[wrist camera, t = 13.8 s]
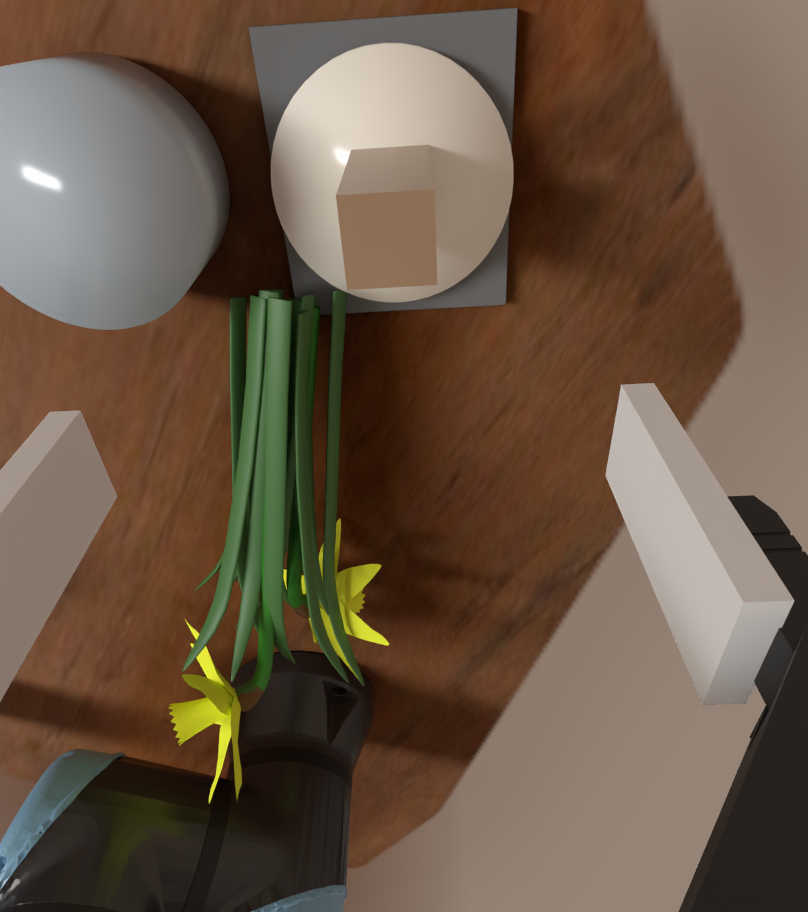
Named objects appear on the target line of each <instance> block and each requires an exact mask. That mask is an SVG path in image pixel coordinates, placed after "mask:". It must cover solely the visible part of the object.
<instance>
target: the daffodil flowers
mask: <svg viewBox="0 0 808 912" xmlns="http://www.w3.org/2000/svg"><path fill="white" fill-rule="evenodd" d="M283 291H284V290H282V289H263V290H259V296H257V295H250V313H249V332H248V351H247V371H246V304H247V297H231V298H230V397H231V439H232V489H233V498H232V505H231V512H230V518H229V525H228V532H227V538H226V544H225V549H224V552H223V555H222V556H221V558H220V560H219V562H218V564H217V565H216V567H215V568H214V569H213V570H212V571H211V573H210V574H209V575H208V576H207V577H206V578H205V579H204V580H203V581H202V582H201V584H200V585H199V586H198V587H197V588H196V589H195V591H196V590H197V589H198V588H200V587H201V586H202V585H204V584H205V583H206V582H207V581H209V580H210V579H211V578H212V577H213V576H214V575H215V574H216V573H217V572H218V571H219V570H220V574H219V579H218V584H217V589H216V592H215V596H214V600H213V603H212V605H211V608H210V611H209V613H208V616H207V619H206V622H205V624H204V626H203V628H202V630H201V632H200V634H199V633H198V632H197V631H196V630H195V629H193V628H192V627H191V626H190V625H189V624H188V622H187V621H186V622H187V624H188V626H189V628H190V630H191V632H192V633H193V635H194V637H195V638H196V642H195V644H191V647H192V650H191V652H190V654H189V656H188V658H187V660H186V662H185V665H184V667H183V670H182V671H184V670H185V669H186V668H187V667H188V666H189V665H190V664H191V663H192V662H193V661H194V660H195V658H197V660H198V661H199V663H200V665H201V667H202V669H203V671H204V673H205V674H206V676H207V678H206V677H203V676H200V675H182V677H183V679H184V680H185V682H187V683H188V684H189V685H190V686H191V687H193V688H196V689H198V690H200V691H202V692H203V693H204V694H205V695H206V696H207V698H203V699H199V700H194V701H190V702H184V703H177V704H170V705H172V706H171V707H169V709H172V711H171V712H170V713H169V714H170V715H172V716H174V718H173V719H172V720H171V722H173V723H175V724H176V725H175V727H174V729H173V730H175V731H178V733H177V735H176V737H175V738H180V739H179V741H178V743H179V742H181V744H182V743H183V742H185V741H186V740H188V739H189V738H191V737H192V736H193V735H195V734H196V733H198V732H200V731H201V730H203V729H205V728H207V727H208V726H210V725H212V724H214V723H215V724H220V725H221V728H220V736H219V753H218V763H217V771H216V776H215V779H214V781H213V784H212V787H211V789H210V795H209V803H210V801H211V798H212V795H213V792H214V789H215V787H216V784H217V781H218V778H219V775H220V772H221V769H222V766H223V762H224V758H225V754H226V751H227V747H228V744H229V741H230V738H231V735H232V744H233V757H234V774H235V788H236V797H237V799H238V793H239V790H240V787H241V784H242V772H241V764H240V758H239V750H238V732H239V721H240V712H241V711H243V712H245V711H249V710H250V709H251V708H252V707H253V706H254V705H255V704H256V703H257V702H258V701H259V700H260V698H261V696H262V695H263V693H264V692H265V690H266V687H267V684H268V682H269V679H270V676H271V671H272V665H273V653H274V645H275V646H276V648H277V649H278V650H279V651H280V653H281V654H282V655H283V656H284V657H286V658H287V659H288V660H290V661H291V662H293V663H294V664H296V663H295V660H294V658H293V657H292V655H291V652H290V650H289V647H288V643H287V637H286V631H285V624H284V613H283V599H284V600H285V602H286V603H287V604H289V605H290V606H291V607H292V608H293V609H294V611H295V612H296V613H297V614H298V615H300V616H302V617H303V618H309V622H310V627H311V631H312V635H313V640H314V642H316V643H317V641H318V642H319V645H320V647H321V648H322V650H323V652H324V653H325V655H326V656H327V658H328V659H329V661H330V662H331V664H332V665H333V666H334V667H335V669H336V670H337V671H338V672H339V673H340V675H341V676H342V677H343V678H344V679H345V680H346V681H347V682H348V683H349V681H348V678H347V676H346V673H345V671H344V669H343V667H342V665H341V663H340V661H339V659H338V657H337V654H338V655H339V657H340V658H341V659H342V660H343V662H344V663H345V664H346V665H347V666H348V668H349V669H350V670H351V671H352V672H353V674H354V675H355V676H356V678H357V679H358V680H359V681H360V682H361V683H362V685H363V686H365V685H364V681H363V678H362V674H361V672H360V669H359V667H358V664H357V662H356V659H355V657H354V654H353V651H352V649H351V646H350V643H349V640H348V637H347V634H349V635H352V636H354V637H357V638H360V639H363V640H367V641H370V642H374V643H379V644H383V645H389V643H388V642H387V640H386V639H385V638H384V637H383V636H382V635H381V634H379V633H377V632H376V631H374V630H373V629H371V628H370V627H369V626H368V625H367V624H366V623H364V622H363V621H362V620H361V619H360V618H359V617H358V616H357V615H356V613H357V612H360V611H359V610H360V609H363V607H362V604H364V603H365V601H364V600H363V598H364V597H365V595H364V594H363V593H362V591H363V588H364V587H365V586H366V585H367V584H368V583H369V581H370V580H371V579H372V578H373V577H374V576H375V574H376V573H377V572H378V571H379V569H380V568H381V565H380V564H367V565H361V566H356V567H352V568H347V569H345V570H343V571H341V572H339V573H337V566H338V557H339V547H340V537H341V518H340V519H339V520H338V521H337V522H336V520H337V495H338V470H339V442H340V413H341V384H342V366H343V350H344V334H345V318H346V302H347V292H344V291H343V290H334V291H333V305H332V323H331V342H330V360H329V379H328V413H327V452H326V486H325V517H324V542H323V545H322V547H321V549H320V554H319V557H318V549H317V538H316V523H315V509H314V481H313V443H312V420H313V406H314V391H315V376H316V362H317V347H318V332H319V318H320V307H319V306H316V297H314V295H306V296H303V297H301V301H299V300H295V299H291V298H285V299H284V298H283ZM286 550H287V551H288V555H287V570H285V569H284V559H285V555H286ZM302 565H303V572H304V576H303V575H302ZM220 568H221V569H220ZM237 579H238V580H239V584H240V588H241V591H242V598H241V606H240V614H239V622H238V624H237V625H236V627H237V626H238V628H237V635H236V641H235V648H234V655H233V662H232V668H231V682H233V680H234V678H235V676H236V673H237V671H238V669H239V666H240V663H241V661H242V658H243V655H244V653H245V650H246V647H247V643H248V640H249V637H250V633H251V630H252V626H253V624H254V626H255V628H256V630H257V632H258V634H259V636H258V658H257V666H256V670H255V673H254V676H253V678H252V679H251V680H250V681H248V682H246V683H244V684H242V685H240V686H239V687H238V688H237V689H235V688H233V687H231V686H230V684H229V683H228V682H227V680H226V679H225V678H224V677H223V675H222V674H221V673H220V672H219V671H218V670H217V668H216V667H215V665H214V663H213V661H212V659H211V656H210V654H209V652H208V650H207V647H206V645H207V643H208V642H209V640H210V639H211V637H212V636H213V635H214V633H215V632H216V630H217V628H218V626H219V624H220V622H221V620H222V618H223V616H224V614H225V612H226V609H227V606H228V602H229V599H230V595H231V590H232V586H233V583H234V582H235V581H236V580H237ZM259 596H260V600H259ZM259 607H260V610H259ZM236 627H235V628H236ZM235 628H234V629H235ZM346 633H347V634H346ZM335 651H336V652H335ZM336 653H337V654H336ZM181 744H180V745H181Z"/></svg>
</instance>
